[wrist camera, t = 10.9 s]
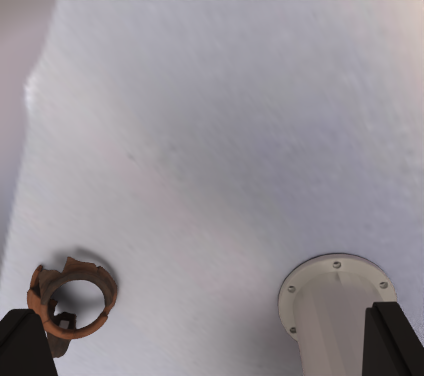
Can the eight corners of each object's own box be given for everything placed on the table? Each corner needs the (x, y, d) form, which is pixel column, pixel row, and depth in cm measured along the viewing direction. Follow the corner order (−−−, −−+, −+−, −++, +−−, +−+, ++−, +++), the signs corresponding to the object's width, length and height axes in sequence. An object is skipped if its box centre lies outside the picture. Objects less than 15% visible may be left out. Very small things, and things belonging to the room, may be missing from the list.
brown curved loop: (32, 239, 44) (32, 265, 37) (115, 243, 48) (129, 267, 41) (20, 337, 46) (17, 380, 38) (101, 333, 50) (113, 371, 42)
